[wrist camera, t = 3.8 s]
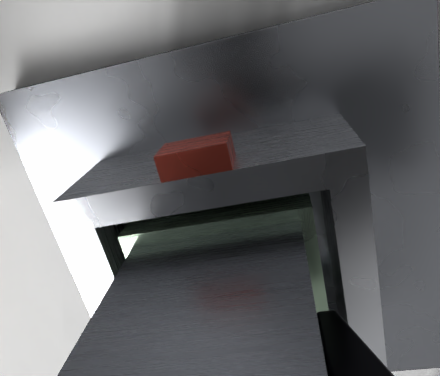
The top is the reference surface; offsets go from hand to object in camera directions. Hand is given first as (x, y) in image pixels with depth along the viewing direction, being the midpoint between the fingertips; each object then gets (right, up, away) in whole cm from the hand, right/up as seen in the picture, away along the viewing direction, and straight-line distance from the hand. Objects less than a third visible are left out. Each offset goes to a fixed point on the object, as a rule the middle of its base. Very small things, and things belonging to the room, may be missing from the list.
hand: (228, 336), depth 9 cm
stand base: (0, +2, +5) cm, 5 cm away
